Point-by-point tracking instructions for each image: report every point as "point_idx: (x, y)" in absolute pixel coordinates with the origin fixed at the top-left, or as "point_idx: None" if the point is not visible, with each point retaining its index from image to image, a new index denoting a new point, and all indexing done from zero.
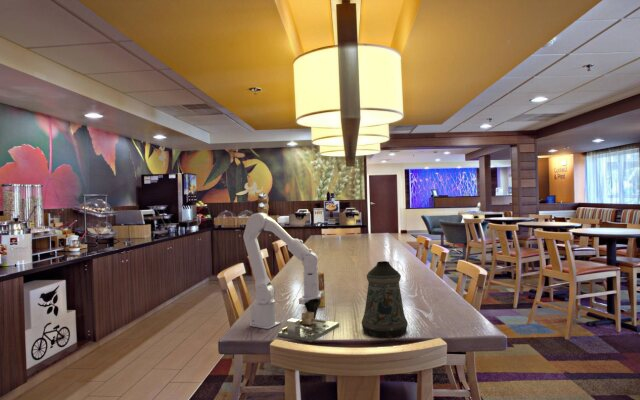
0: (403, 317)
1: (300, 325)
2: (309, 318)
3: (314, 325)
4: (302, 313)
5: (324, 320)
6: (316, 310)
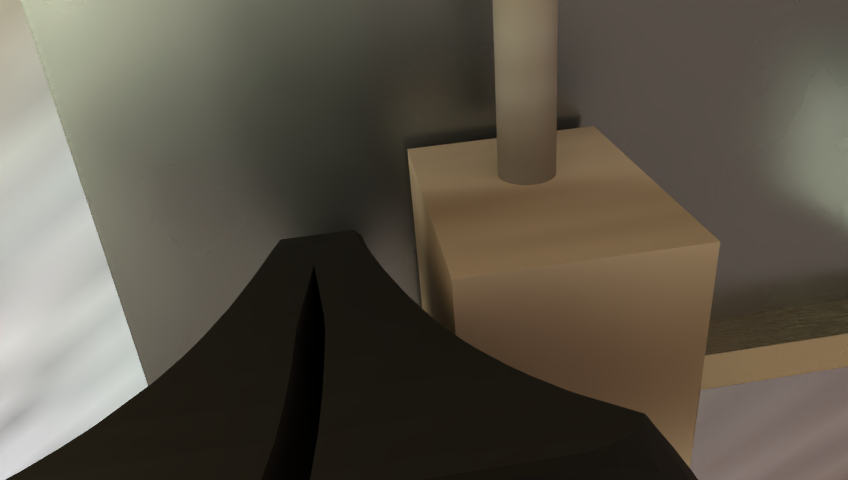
0: None
1: None
2: (655, 189)
3: None
4: (690, 449)
5: (55, 78)
6: (247, 328)
